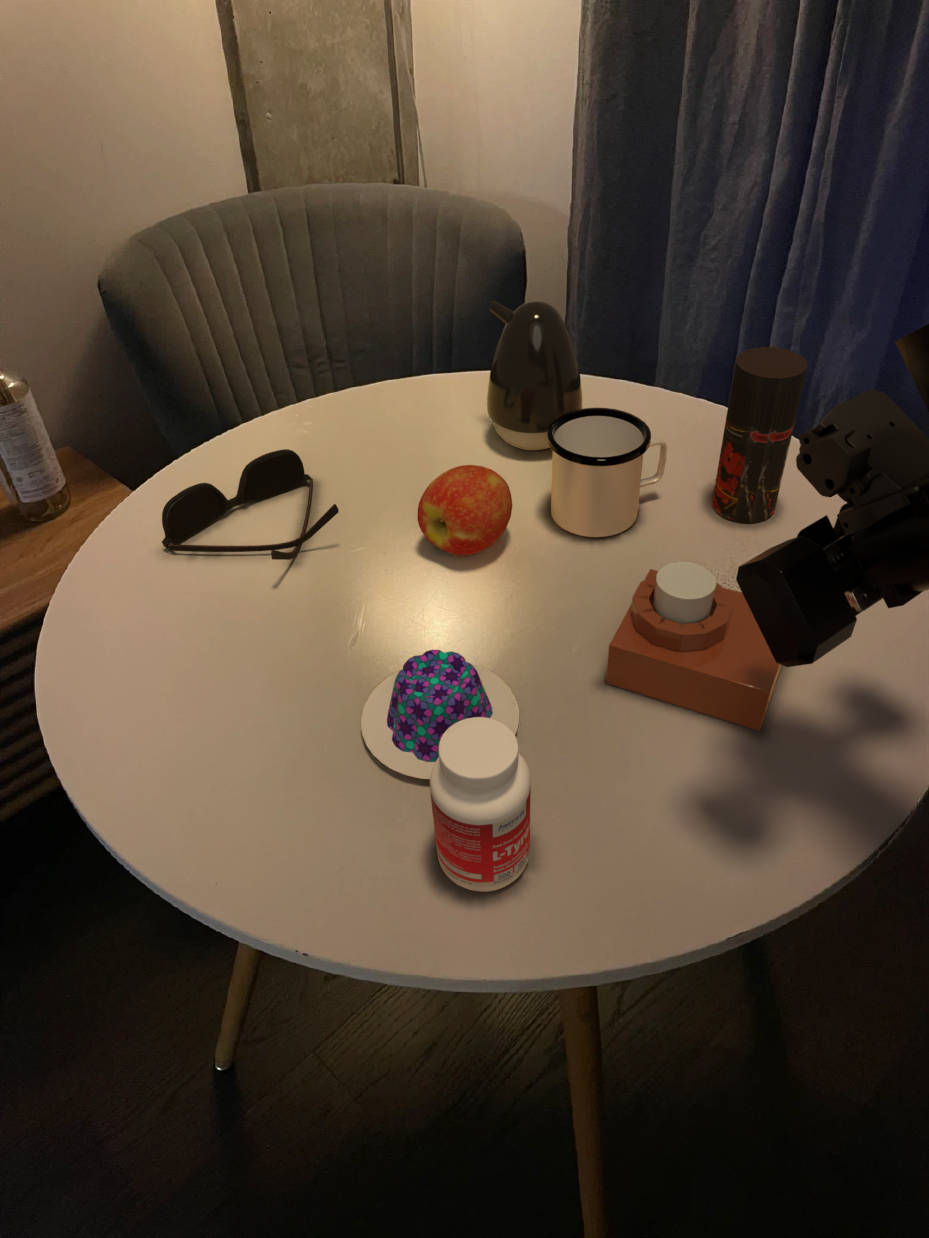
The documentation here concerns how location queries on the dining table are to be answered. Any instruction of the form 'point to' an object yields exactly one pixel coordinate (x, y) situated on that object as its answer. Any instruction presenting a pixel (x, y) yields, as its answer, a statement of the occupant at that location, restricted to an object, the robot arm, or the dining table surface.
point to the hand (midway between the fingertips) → (774, 578)
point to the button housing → (696, 658)
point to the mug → (599, 469)
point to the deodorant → (757, 433)
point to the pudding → (430, 709)
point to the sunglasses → (255, 484)
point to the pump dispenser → (532, 374)
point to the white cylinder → (684, 592)
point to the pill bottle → (481, 805)
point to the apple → (465, 509)
